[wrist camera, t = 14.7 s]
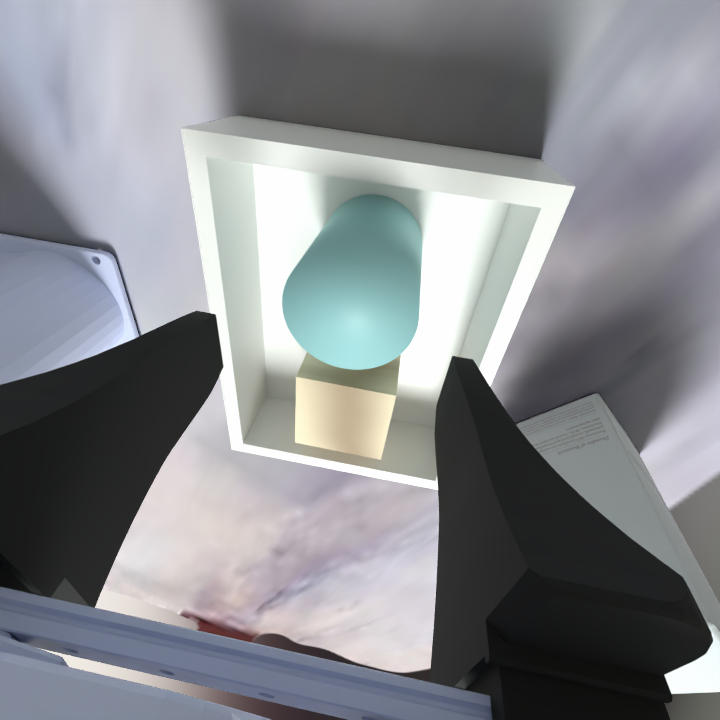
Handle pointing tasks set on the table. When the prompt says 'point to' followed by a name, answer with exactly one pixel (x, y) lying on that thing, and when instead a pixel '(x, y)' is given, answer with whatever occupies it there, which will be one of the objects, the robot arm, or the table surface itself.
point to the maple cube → (345, 406)
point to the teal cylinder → (358, 285)
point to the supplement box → (626, 507)
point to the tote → (303, 224)
